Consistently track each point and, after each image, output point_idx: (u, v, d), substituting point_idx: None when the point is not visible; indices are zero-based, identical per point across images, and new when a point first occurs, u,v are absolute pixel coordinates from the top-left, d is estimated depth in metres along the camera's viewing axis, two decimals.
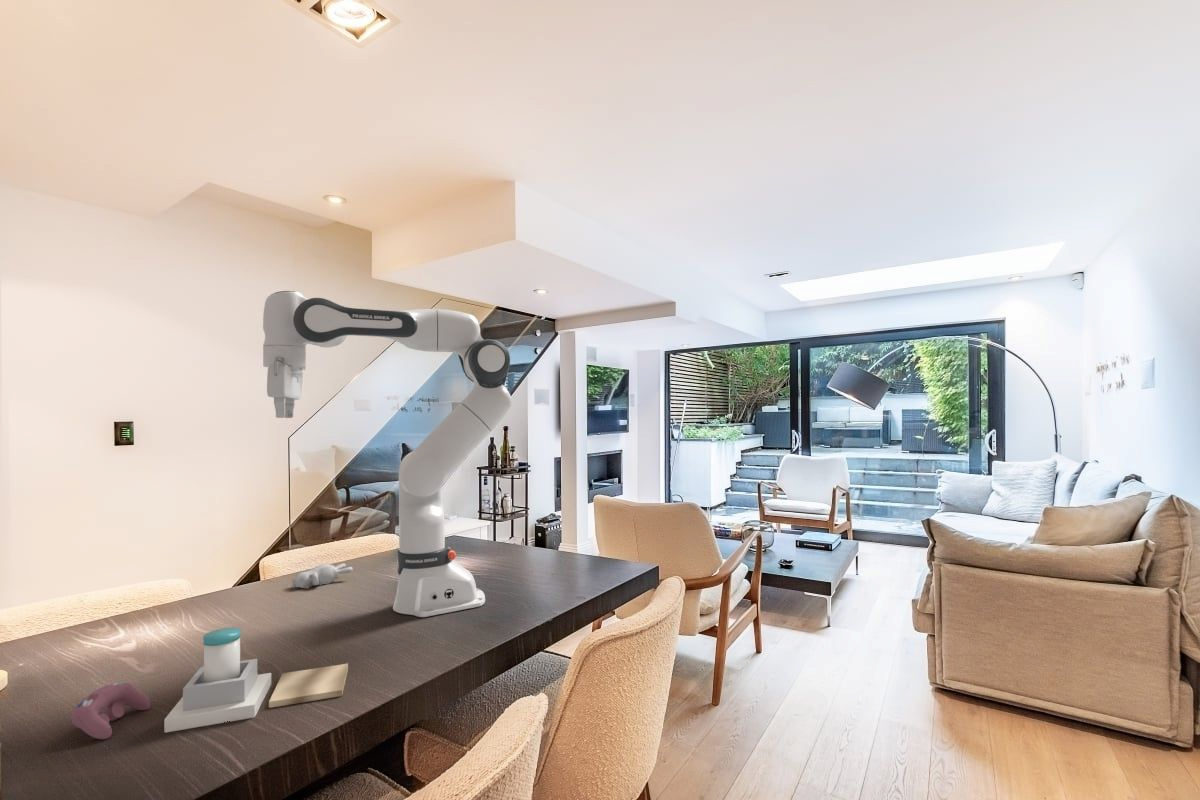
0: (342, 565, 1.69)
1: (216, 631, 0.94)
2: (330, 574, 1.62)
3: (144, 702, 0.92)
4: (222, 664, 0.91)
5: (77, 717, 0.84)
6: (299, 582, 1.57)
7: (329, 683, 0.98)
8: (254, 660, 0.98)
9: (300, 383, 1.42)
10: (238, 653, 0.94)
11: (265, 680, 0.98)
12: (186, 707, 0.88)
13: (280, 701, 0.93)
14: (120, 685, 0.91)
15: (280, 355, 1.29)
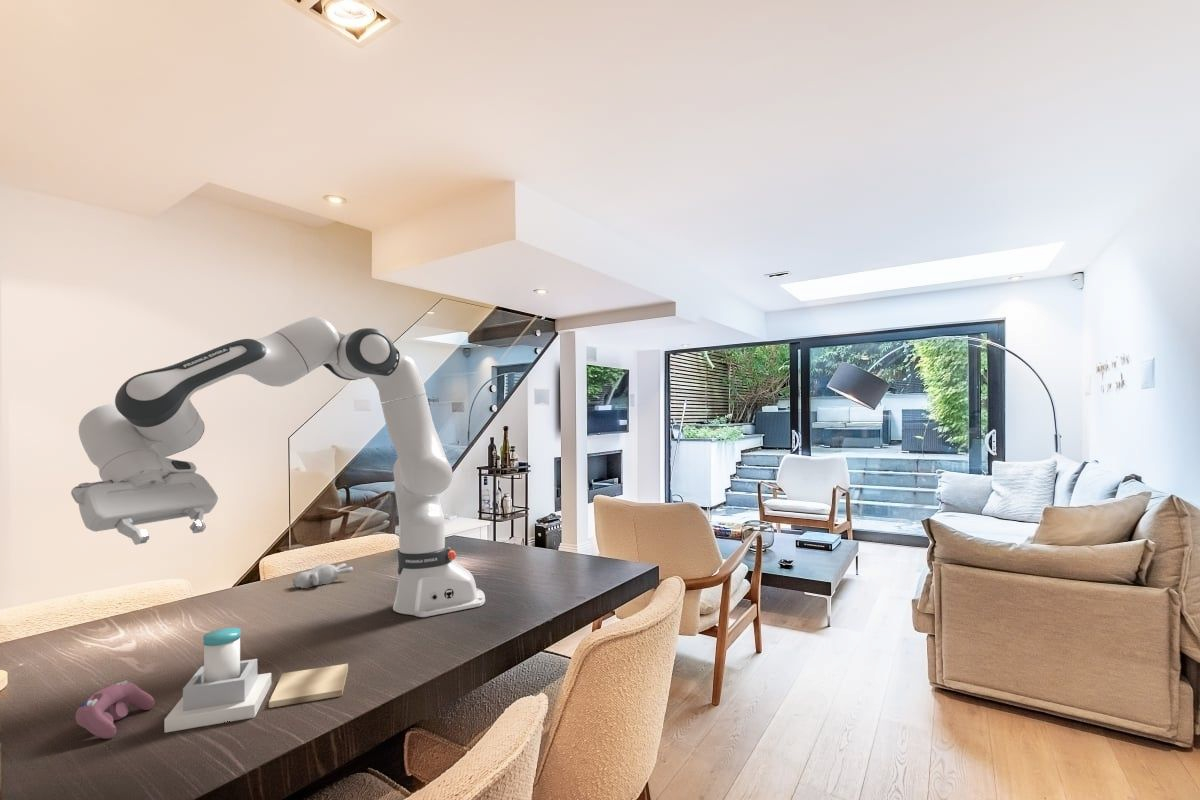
0: (343, 565, 1.69)
1: (216, 631, 0.94)
2: (330, 574, 1.62)
3: (148, 702, 0.92)
4: (222, 664, 0.91)
5: (81, 717, 0.84)
6: (299, 582, 1.57)
7: (329, 683, 0.98)
8: (254, 660, 0.98)
9: (202, 486, 1.08)
10: (238, 653, 0.94)
11: (265, 680, 0.98)
12: (186, 707, 0.88)
13: (280, 701, 0.93)
14: (124, 684, 0.91)
15: (108, 479, 0.98)
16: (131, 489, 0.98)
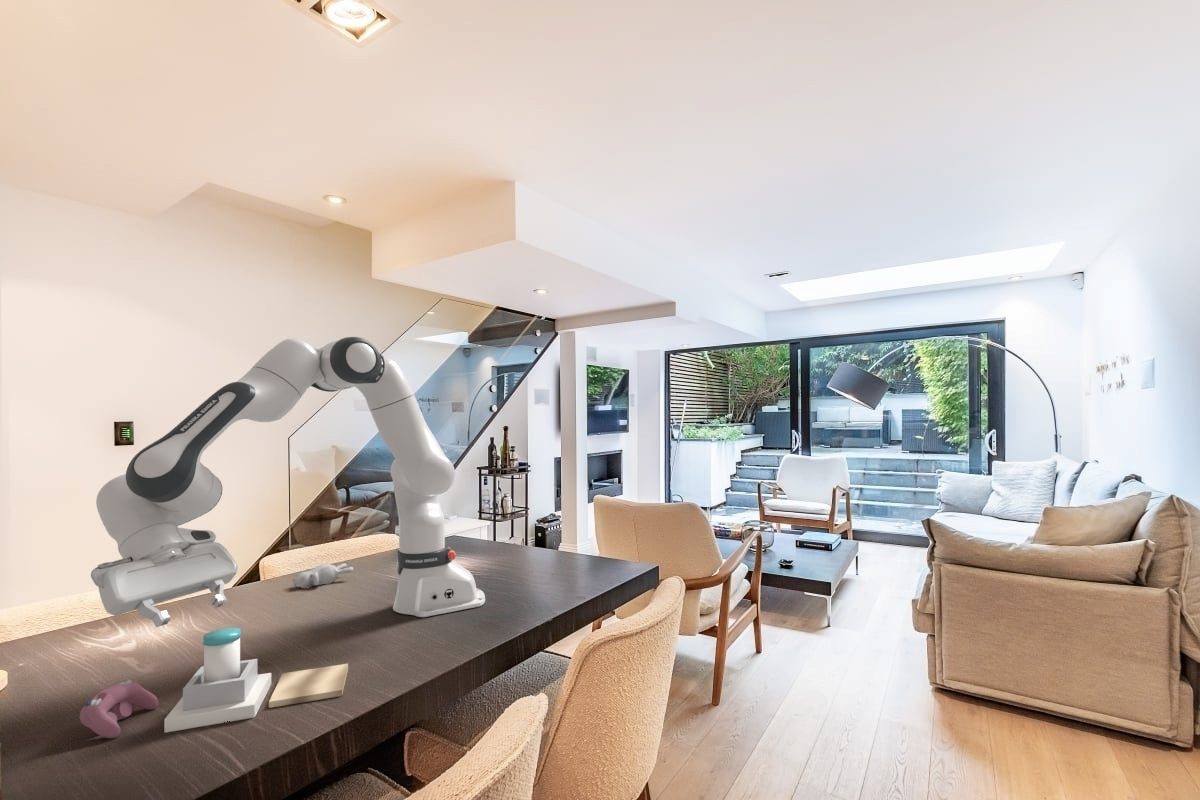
0: (343, 565, 1.69)
1: (216, 631, 0.94)
2: (331, 574, 1.62)
3: (151, 701, 0.92)
4: (222, 664, 0.91)
5: (86, 716, 0.84)
6: (300, 582, 1.57)
7: (329, 683, 0.98)
8: (254, 660, 0.98)
9: (222, 555, 1.06)
10: (238, 653, 0.94)
11: (265, 680, 0.98)
12: (186, 707, 0.88)
13: (280, 701, 0.93)
14: (127, 684, 0.91)
15: (127, 556, 0.96)
16: (151, 566, 0.96)
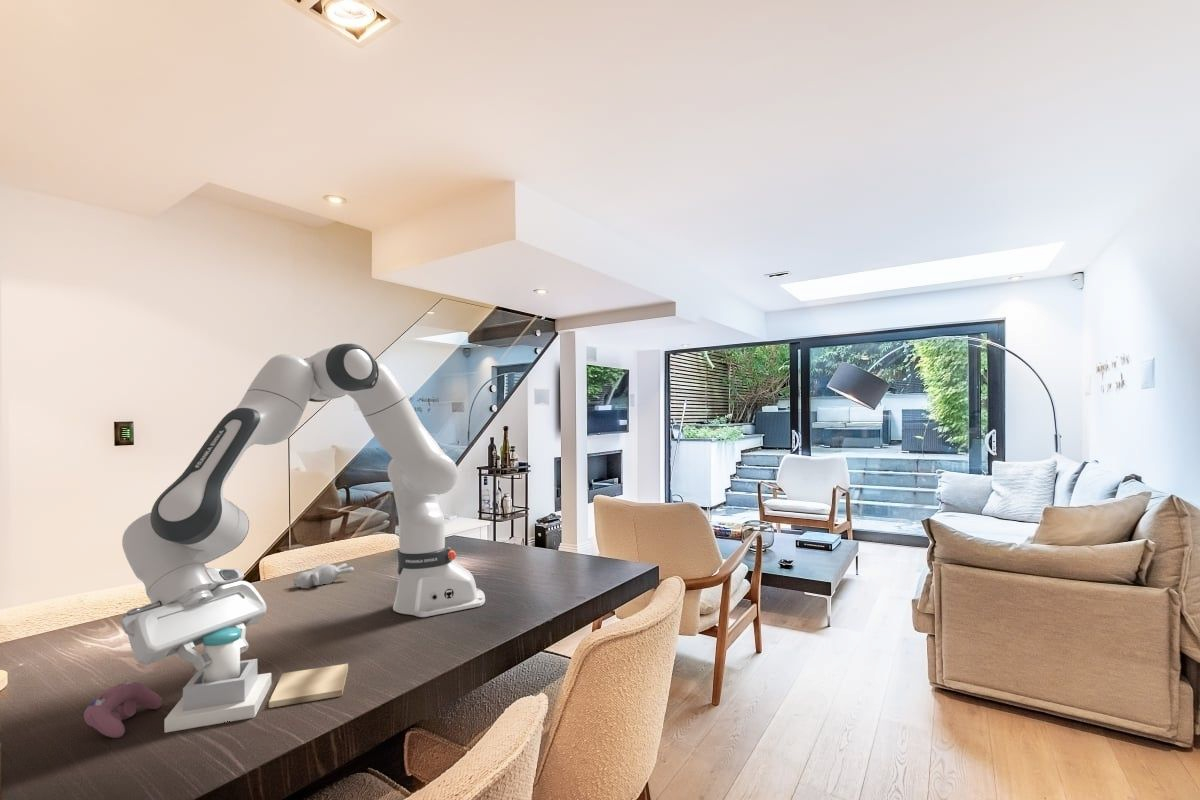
0: (343, 565, 1.69)
1: (216, 631, 0.94)
2: (331, 574, 1.62)
3: (155, 701, 0.93)
4: (222, 664, 0.91)
5: (90, 716, 0.84)
6: (300, 582, 1.57)
7: (329, 683, 0.98)
8: (254, 660, 0.98)
9: (251, 594, 1.03)
10: (238, 653, 0.94)
11: (265, 680, 0.98)
12: (186, 707, 0.88)
13: (280, 701, 0.93)
14: (131, 684, 0.91)
15: (155, 599, 0.93)
16: (181, 610, 0.93)
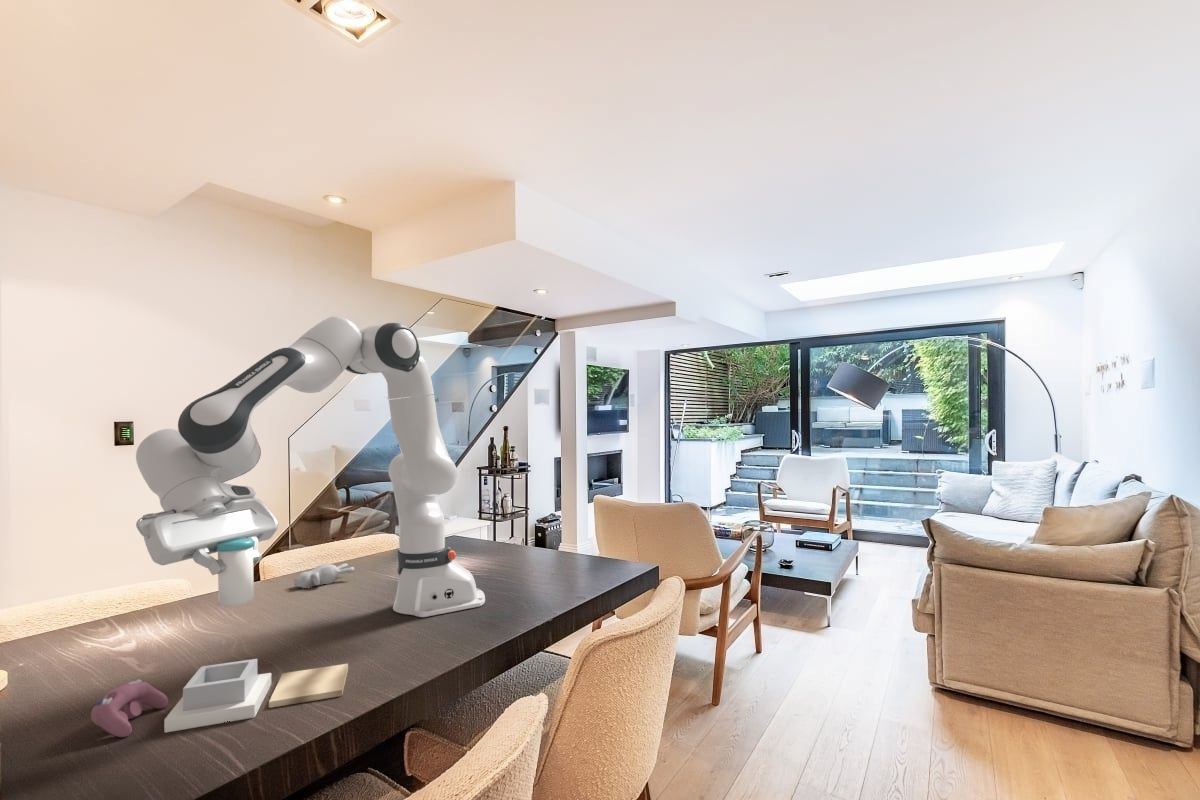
0: (344, 565, 1.69)
1: None
2: (332, 574, 1.62)
3: (161, 700, 0.93)
4: (236, 570, 0.93)
5: (97, 715, 0.84)
6: (300, 582, 1.57)
7: (329, 683, 0.98)
8: (254, 660, 0.98)
9: (263, 511, 1.04)
10: (251, 561, 0.95)
11: (265, 680, 0.98)
12: (186, 707, 0.88)
13: (280, 701, 0.93)
14: (137, 683, 0.92)
15: (170, 508, 0.94)
16: (195, 519, 0.94)
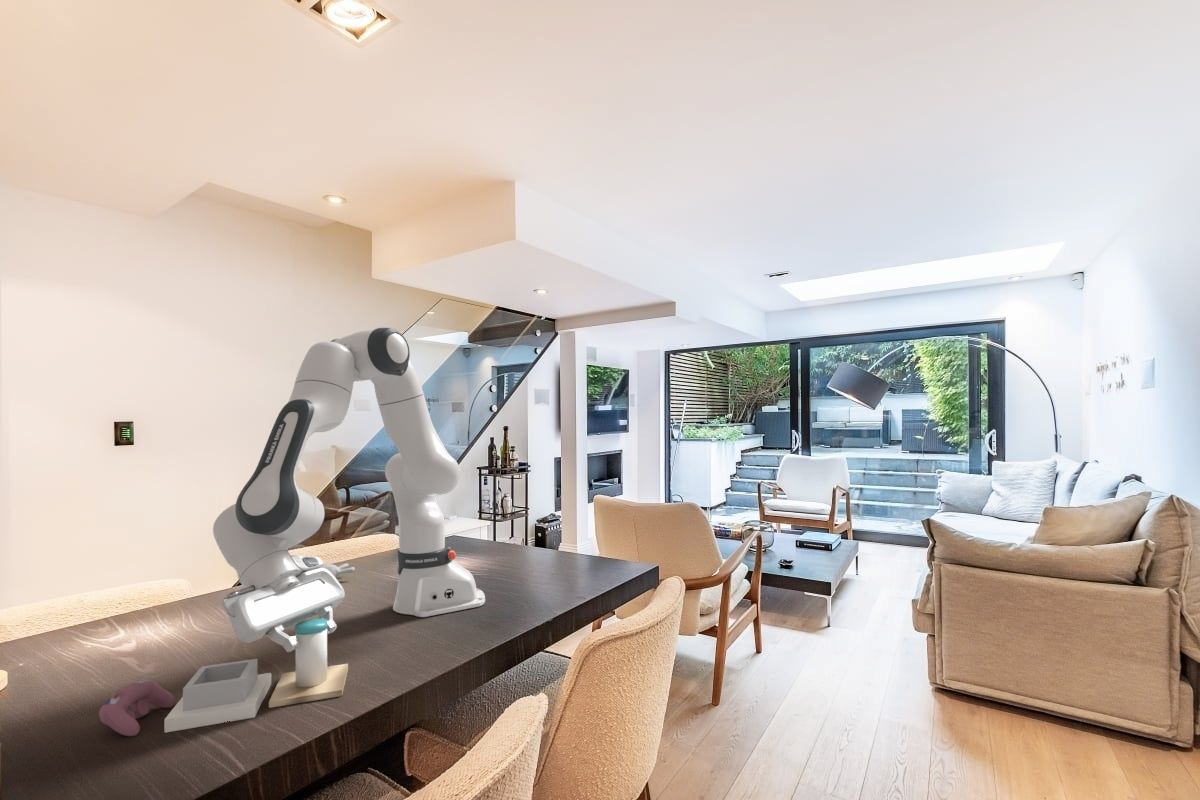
0: (345, 565, 1.69)
1: (305, 622, 1.01)
2: None
3: (168, 700, 0.93)
4: (313, 652, 0.98)
5: (105, 714, 0.84)
6: None
7: (329, 683, 0.98)
8: (254, 660, 0.98)
9: (330, 581, 1.09)
10: (326, 642, 1.00)
11: (265, 680, 0.98)
12: (186, 707, 0.88)
13: (280, 701, 0.93)
14: (145, 682, 0.92)
15: (249, 584, 0.99)
16: (273, 594, 0.99)
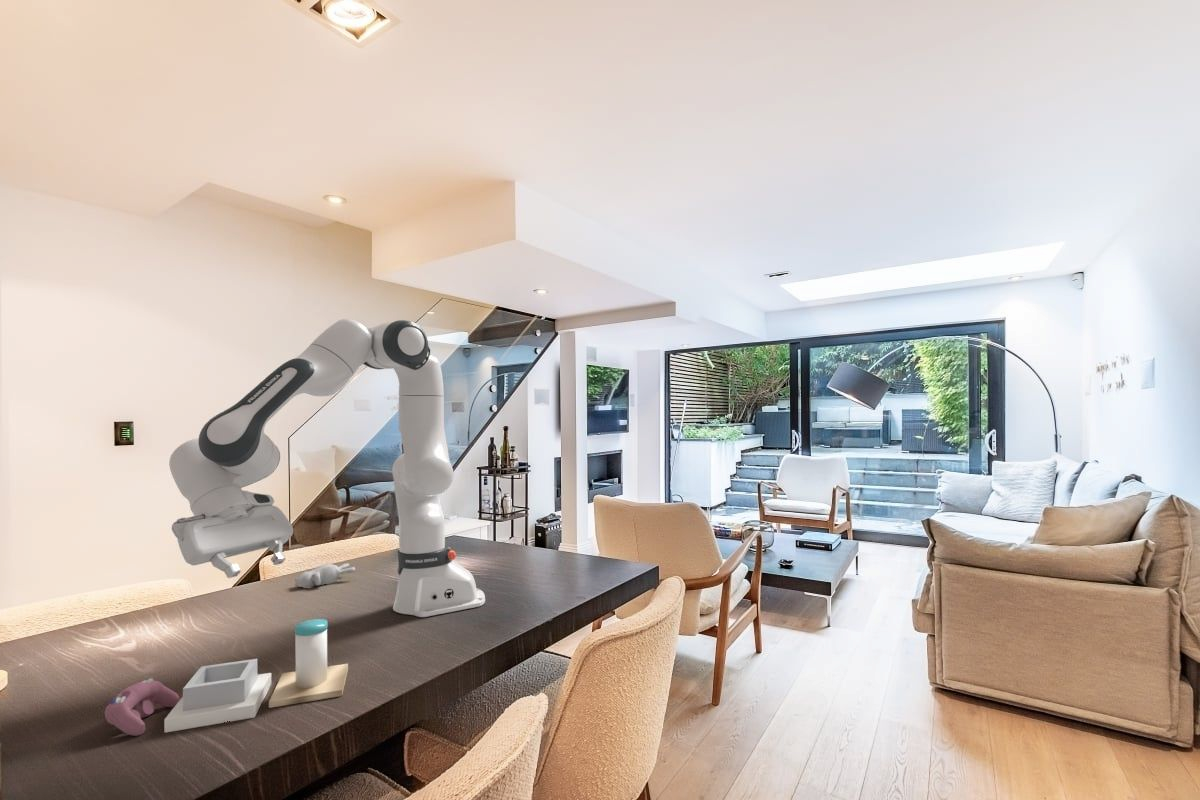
0: (345, 565, 1.69)
1: (305, 622, 1.01)
2: (333, 574, 1.62)
3: (173, 699, 0.93)
4: (313, 653, 0.98)
5: (111, 714, 0.84)
6: (301, 582, 1.57)
7: (329, 683, 0.98)
8: (254, 660, 0.98)
9: (280, 518, 1.15)
10: (326, 643, 1.00)
11: (265, 680, 0.98)
12: (186, 707, 0.88)
13: (280, 701, 0.93)
14: (149, 682, 0.92)
15: (200, 513, 1.05)
16: (222, 524, 1.05)
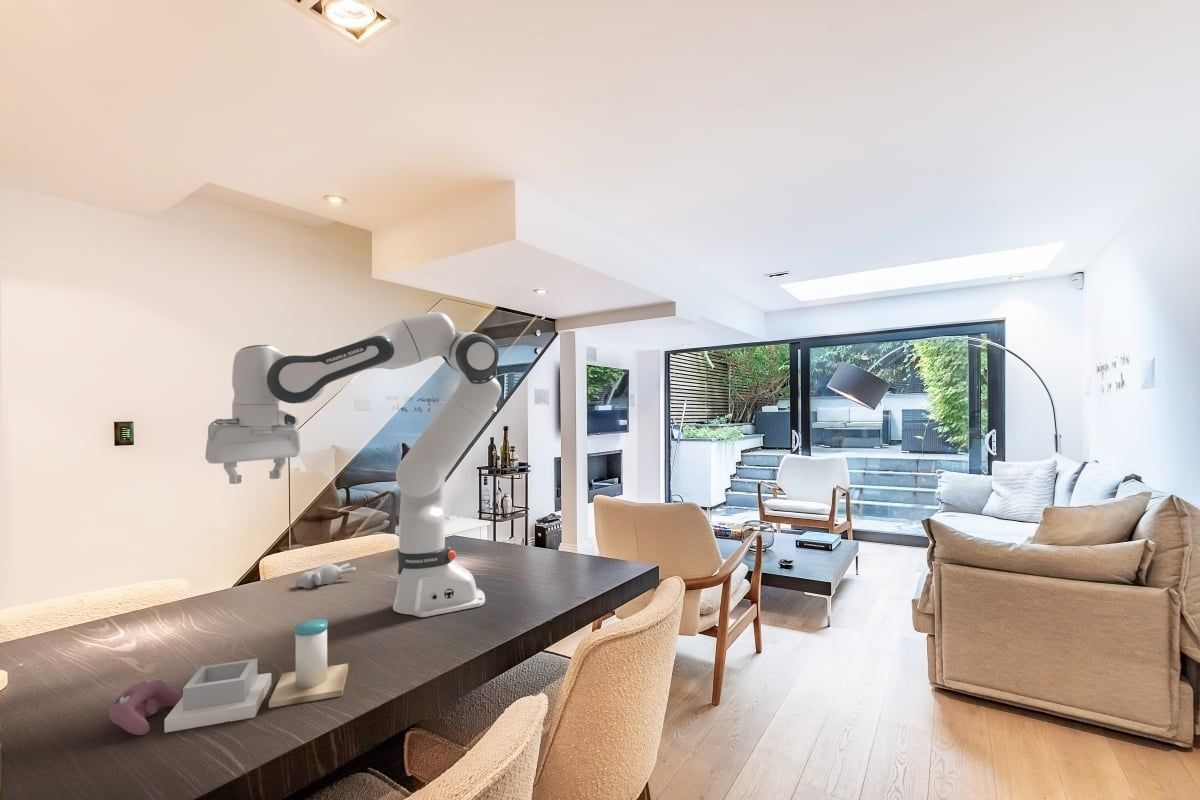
0: (346, 565, 1.69)
1: (305, 622, 1.01)
2: (333, 574, 1.62)
3: (177, 699, 0.93)
4: (313, 653, 0.98)
5: (115, 713, 0.85)
6: (302, 582, 1.57)
7: (329, 683, 0.98)
8: (254, 660, 0.98)
9: (295, 439, 1.31)
10: (326, 643, 1.00)
11: (265, 680, 0.98)
12: (186, 707, 0.88)
13: (280, 701, 0.93)
14: (153, 682, 0.92)
15: (236, 416, 1.20)
16: (247, 435, 1.21)
